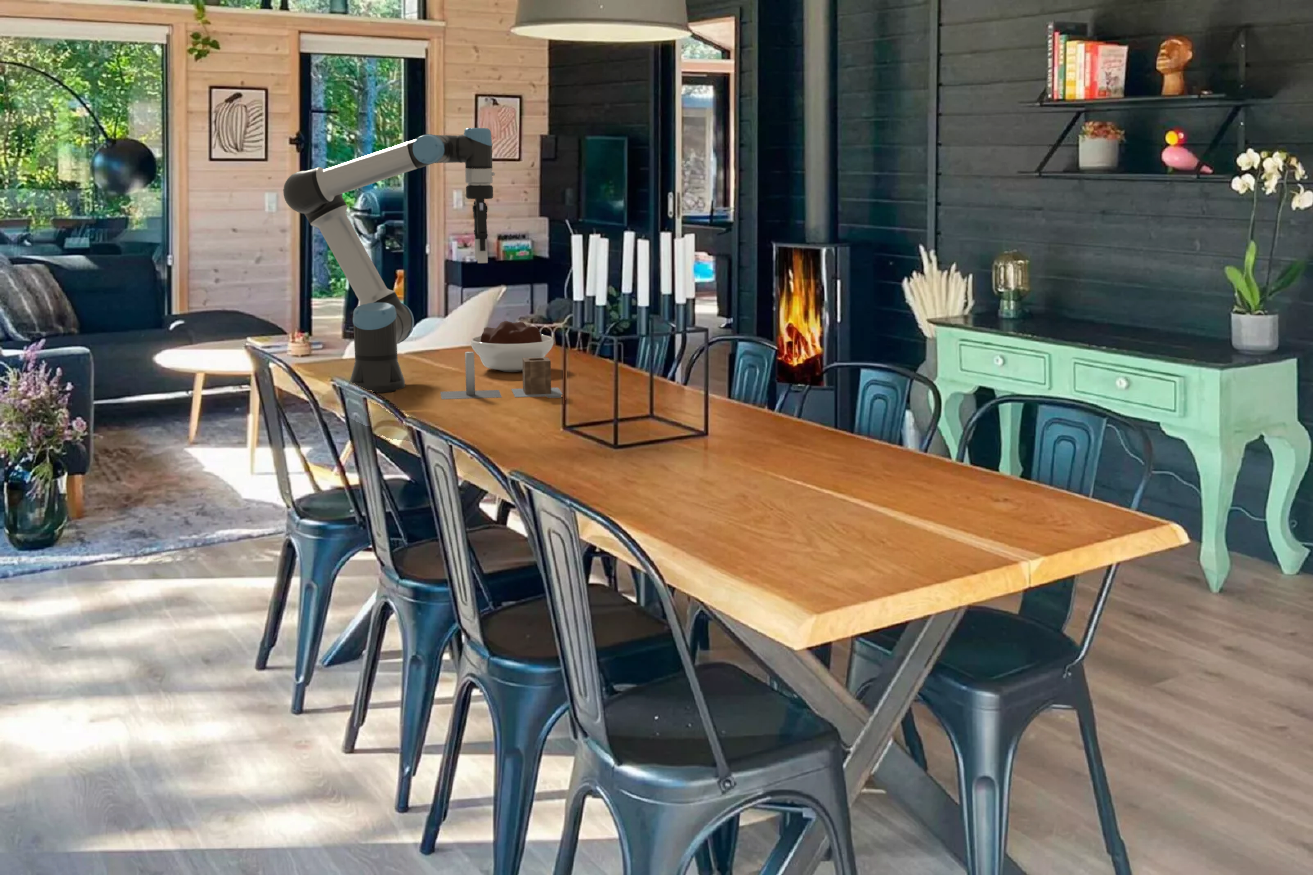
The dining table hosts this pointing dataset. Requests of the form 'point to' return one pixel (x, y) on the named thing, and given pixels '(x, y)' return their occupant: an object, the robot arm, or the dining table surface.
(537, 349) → the white ceramic bowl
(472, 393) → the post stand
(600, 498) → the dining table surface
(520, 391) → the slate mat
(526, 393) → the walnut collar
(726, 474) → the dining table surface
